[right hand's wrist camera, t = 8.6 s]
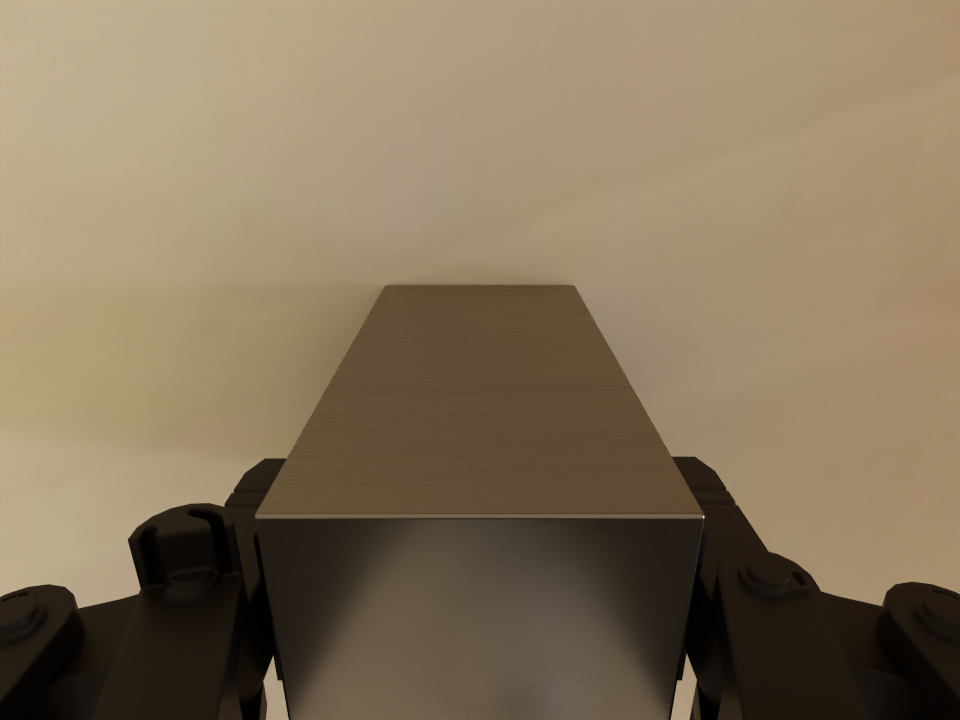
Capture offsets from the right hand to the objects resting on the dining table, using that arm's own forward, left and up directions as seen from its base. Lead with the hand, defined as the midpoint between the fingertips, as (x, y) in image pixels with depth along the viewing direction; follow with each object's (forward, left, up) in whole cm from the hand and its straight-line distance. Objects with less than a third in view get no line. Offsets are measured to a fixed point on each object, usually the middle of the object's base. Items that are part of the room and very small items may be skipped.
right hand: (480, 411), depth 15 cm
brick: (0, 0, -1) cm, 1 cm away
